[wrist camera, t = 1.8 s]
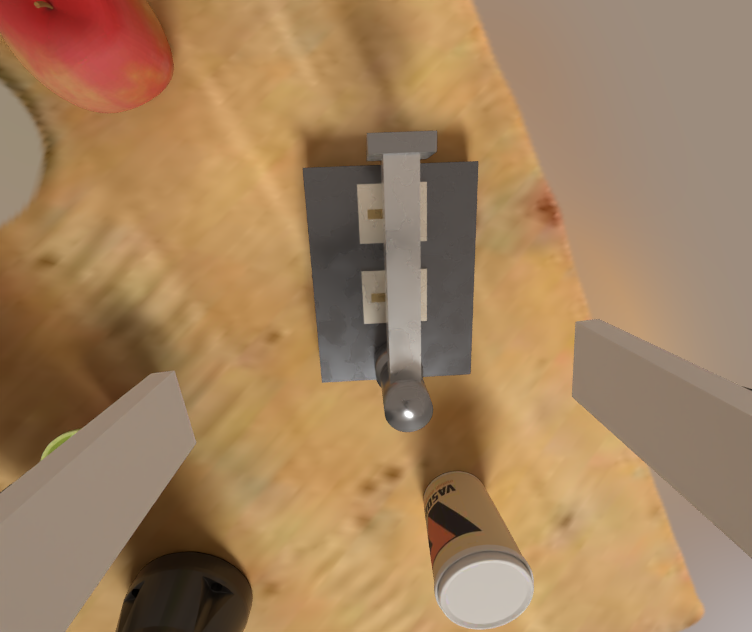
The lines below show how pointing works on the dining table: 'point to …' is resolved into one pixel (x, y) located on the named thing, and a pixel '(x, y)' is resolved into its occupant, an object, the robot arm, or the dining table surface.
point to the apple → (90, 49)
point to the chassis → (367, 276)
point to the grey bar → (402, 273)
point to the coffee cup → (473, 555)
